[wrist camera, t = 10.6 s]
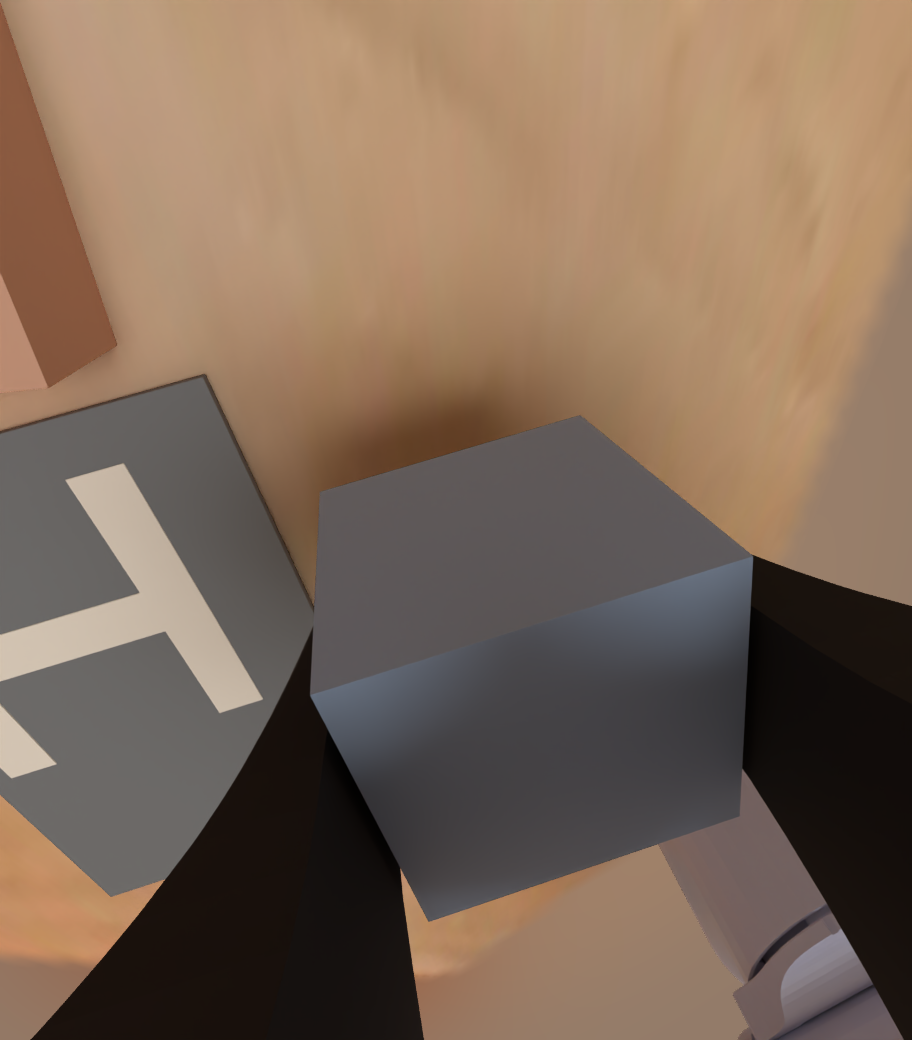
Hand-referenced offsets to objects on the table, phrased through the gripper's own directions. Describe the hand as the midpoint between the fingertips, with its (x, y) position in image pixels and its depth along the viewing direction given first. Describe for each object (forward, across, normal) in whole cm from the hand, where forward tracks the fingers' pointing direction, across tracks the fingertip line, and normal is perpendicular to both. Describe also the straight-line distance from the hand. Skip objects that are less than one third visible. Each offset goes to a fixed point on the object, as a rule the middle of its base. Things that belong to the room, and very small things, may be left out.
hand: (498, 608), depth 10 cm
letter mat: (+7, +11, +5) cm, 14 cm away
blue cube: (+2, 0, 0) cm, 2 cm away
